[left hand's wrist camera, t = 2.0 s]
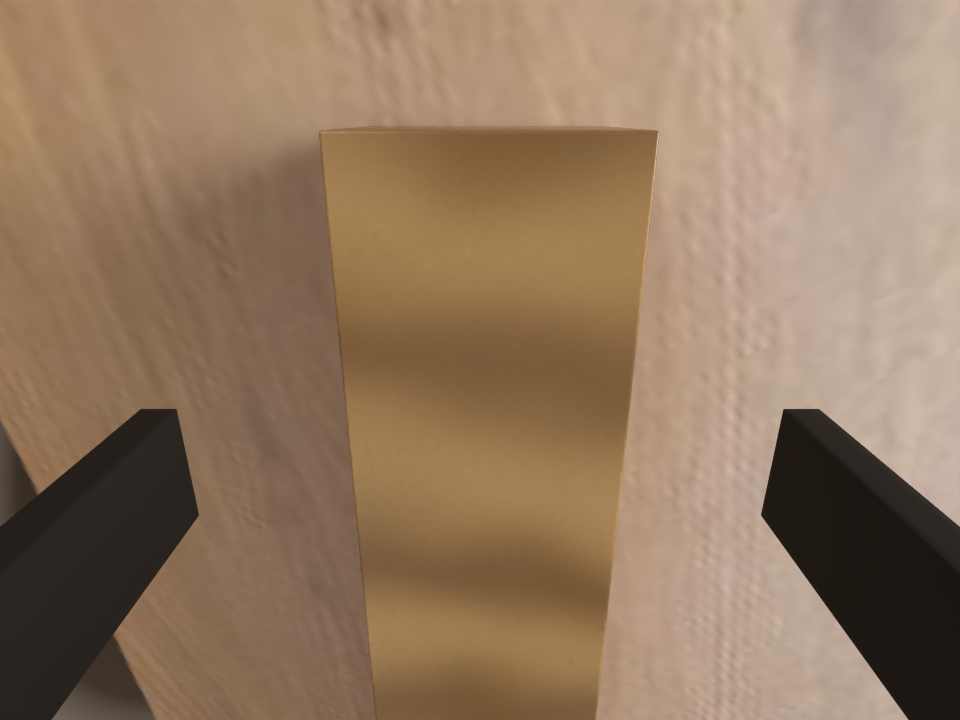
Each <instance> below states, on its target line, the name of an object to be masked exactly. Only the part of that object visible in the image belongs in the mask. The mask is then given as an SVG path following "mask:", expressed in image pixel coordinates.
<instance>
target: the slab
mask: <svg viewBox="0 0 960 720" xmlns="http://www.w3.org/2000/svg"><path fill="white" fill-rule="evenodd" d="M319 138H320V148H321V158H322V169H323V179H324V189H325V199H326V210H327V220H328V230H329V241H330V251H331V261H332V272H333V282H334V292H335V302H336V313H337V323H338V333H339V344H340V354H341V364H342V375H343V385H344V395H345V405H346V416H347V426H348V436H349V447H350V457H351V467H352V478H353V488H354V498H355V508H356V519H357V529H358V539H359V550H360V560H361V570H362V581H363V591H364V601H365V611H366V622H367V632H368V642H369V653H370V663H371V673H372V684H373V694H374V704H375V714H376V720H596V713H597V704H598V695H599V685H600V676H601V667H602V658H603V648H604V639H605V630H606V621H607V612H608V602H609V593H610V584H611V575H612V566H613V556H614V547H615V538H616V529H617V520H618V510H619V501H620V492H621V483H622V474H623V464H624V455H625V446H626V437H627V427H628V418H629V409H630V400H631V391H632V381H633V372H634V363H635V354H636V345H637V335H638V326H639V317H640V308H641V299H642V289H643V280H644V271H645V262H646V253H647V243H648V234H649V225H650V216H651V206H652V197H653V188H654V179H655V170H656V160H657V151H658V142H659V131H656V130H643V129H631V128H618V127H358V128H346V129H334V130H322V131H320V133H319Z"/></svg>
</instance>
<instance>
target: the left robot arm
mask: <svg viewBox="0 0 960 720" xmlns="http://www.w3.org/2000/svg"><path fill="white" fill-rule="evenodd" d="M198 516H199V513H198V508H197V504H196V499H195V494H194V490H193V485H192V480H191V475H190V471H189V466H188V461H187V457H186V452H185V447H184V442H183V438H182V433H181V428H180V424H179V419H178V414H177V409H141V410H139V411H138V412H137V413H136V414H135V415H133V416H132V417H131V418H130V419H129V420H127V421H126V422H125V423H124V424H123V425H121V426H120V427H119V428H118V429H117V430H115V431H114V432H113V433H112V434H111V435H109V436H108V437H107V438H106V439H105V440H104V441H102V442H101V443H100V444H99V445H98V446H96V447H95V448H94V449H93V450H92V451H90V452H89V453H88V454H87V455H86V456H84V457H83V458H82V459H81V460H80V461H78V462H77V463H76V464H75V465H74V466H72V467H71V468H70V469H69V470H68V471H66V472H65V473H64V474H63V475H62V476H60V477H59V478H58V479H57V480H56V481H55V482H53V483H52V484H51V485H50V486H49V487H47V488H46V489H45V490H44V491H43V492H41V493H40V494H39V495H38V496H37V497H35V498H34V499H33V500H32V501H31V502H29V503H28V504H27V505H26V506H25V507H24V508H22V509H21V510H20V511H19V512H17V513H16V514H15V515H14V516H13V517H12V518H10V519H9V520H8V521H7V522H6V523H4V524H3V525H2V526H1V527H0V720H52V718H53V717H54V715H55V714H56V713H57V711H58V710H59V709H60V707H61V706H62V704H63V703H64V702H65V700H66V699H67V697H68V696H69V695H70V693H71V692H72V691H73V689H74V688H75V686H76V685H77V684H78V682H79V681H80V679H81V678H82V677H83V675H84V674H85V672H86V671H87V670H88V668H89V667H90V666H91V664H92V663H93V661H94V660H95V659H96V657H97V656H98V654H99V653H100V652H101V650H102V649H103V648H104V646H105V645H106V643H107V642H108V641H109V639H110V638H111V636H112V635H113V634H114V632H115V631H116V629H117V628H118V627H119V625H120V624H121V623H122V621H123V620H124V618H125V617H126V616H127V614H128V613H129V611H130V610H131V609H132V607H133V606H134V605H135V603H136V602H137V600H138V599H139V598H140V596H141V595H142V593H143V592H144V591H145V589H146V588H147V587H148V585H149V584H150V582H151V581H152V580H153V578H154V577H155V575H156V574H157V573H158V571H159V570H160V568H161V567H162V566H163V564H164V563H165V562H166V560H167V559H168V557H169V556H170V555H171V553H172V552H173V550H174V549H175V548H176V546H177V545H178V544H179V542H180V541H181V539H182V538H183V537H184V535H185V534H186V532H187V531H188V530H189V528H190V527H191V525H192V524H193V523H194V521H195V520H196V519H197V517H198ZM761 516H762V517H763V519H764V520H765V521H766V523H767V524H768V525H769V527H770V528H771V530H772V531H773V532H774V534H775V535H776V537H777V538H778V539H779V541H780V542H781V544H782V545H783V546H784V548H785V549H786V550H787V552H788V553H789V555H790V556H791V557H792V559H793V560H794V562H795V563H796V564H797V566H798V567H799V568H800V570H801V571H802V573H803V574H804V575H805V577H806V578H807V580H808V581H809V582H810V584H811V585H812V587H813V588H814V589H815V591H816V592H817V593H818V595H819V596H820V598H821V599H822V600H823V602H824V603H825V605H826V606H827V607H828V609H829V610H830V611H831V613H832V614H833V616H834V617H835V618H836V620H837V621H838V623H839V624H840V625H841V627H842V628H843V629H844V631H845V632H846V634H847V635H848V636H849V638H850V639H851V641H852V642H853V643H854V645H855V646H856V648H857V649H858V650H859V652H860V653H861V654H862V656H863V657H864V659H865V660H866V661H867V663H868V664H869V666H870V667H871V668H872V670H873V671H874V672H875V674H876V675H877V677H878V678H879V679H880V681H881V682H882V684H883V685H884V686H885V688H886V689H887V691H888V692H889V693H890V695H891V696H892V697H893V699H894V700H895V702H896V703H897V704H898V706H899V707H900V709H901V710H902V711H903V713H904V714H905V715H906V717H907V718H908V720H960V527H959V526H958V525H957V524H956V523H954V522H953V521H952V520H951V519H950V518H948V517H947V516H946V515H945V514H944V513H943V512H941V511H940V510H939V509H938V508H937V507H935V506H934V505H933V504H932V503H931V502H929V501H928V500H927V499H926V498H925V497H923V496H922V495H921V494H920V493H919V492H917V491H916V490H915V489H914V488H913V487H911V486H910V485H909V484H908V483H907V482H905V481H904V480H903V479H902V478H901V477H900V476H898V475H897V474H896V473H895V472H894V471H892V470H891V469H890V468H889V467H888V466H886V465H885V464H884V463H883V462H882V461H880V460H879V459H878V458H877V457H876V456H874V455H873V454H872V453H871V452H870V451H868V450H867V449H866V448H865V447H864V446H862V445H861V444H860V443H859V442H858V441H856V440H855V439H854V438H853V437H852V436H851V435H849V434H848V433H847V432H846V431H845V430H843V429H842V428H841V427H840V426H839V425H837V424H836V423H835V422H834V421H833V420H831V419H830V418H829V417H828V416H827V415H825V414H824V413H823V412H822V411H821V410H819V409H783V414H782V419H781V424H780V428H779V433H778V438H777V442H776V447H775V452H774V457H773V461H772V466H771V471H770V475H769V480H768V485H767V490H766V494H765V499H764V504H763V508H762V513H761Z"/></svg>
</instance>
